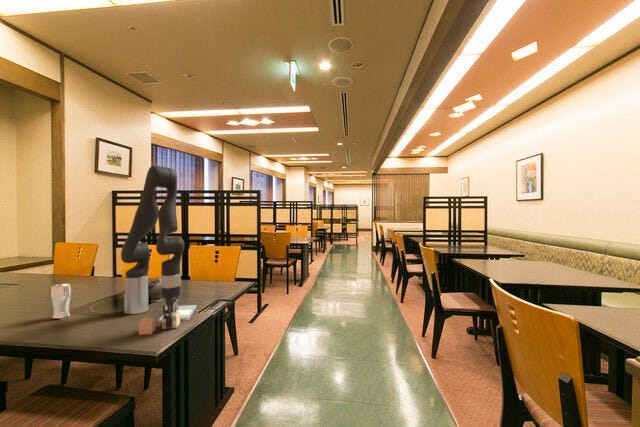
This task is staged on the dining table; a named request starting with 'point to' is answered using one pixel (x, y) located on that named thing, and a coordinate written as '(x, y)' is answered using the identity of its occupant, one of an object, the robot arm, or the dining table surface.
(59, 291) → the beer glass
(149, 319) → the terracotta block
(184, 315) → the build board
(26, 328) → the dining table surface
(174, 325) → the beech block
